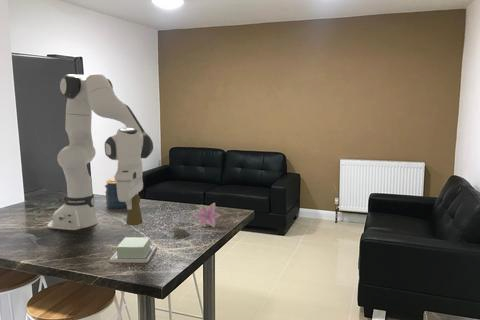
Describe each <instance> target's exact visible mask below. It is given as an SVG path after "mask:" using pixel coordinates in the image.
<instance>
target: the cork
mask: <svg viewBox="0 0 480 320" xmlns="http://www.w3.org/2000/svg"><path fill="white" fill-rule="evenodd" d="M140 202H141V196H140V195H139V194H138V195H135V196H134V197H133V198H132V204H133V208H132V209H131V210H128V209H127V211H126V213H127V214H126V224H127V225H128V226H139V225H142V224H143V222H144V221H143V217H142V211H141V207H140ZM127 225H126V226H127Z"/></svg>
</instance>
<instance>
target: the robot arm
mask: <svg viewBox="0 0 480 320" xmlns="http://www.w3.org/2000/svg"><path fill="white" fill-rule="evenodd" d="M59 84H60V85H59V89H60V93H61V94H62V96H63V97H64V98H66V99H67V100H66V104H65V105H66V106H65V129H64V130H65V132H66V133H67V137H68V141H69V145H66V146H65V147H63V148H62V149H60V151H59V152H58V154H57V157H56V158H57V163H58V165H59V166H60V168H62V171H63V173H64V177H65V181H66V189H67V190H66V191H67V195H66V196H65V197H64V198H63V199H62V202H64V204H63V205H61V206H60V207H59V208H58V209H57V210H55V211H54V212H53V214H52V217H51V221H49V222H48V223H47V228H48V229H55V230H56V229H57V230H65V231H66V230H68V231H77V230H80V229H85V228H89V227H92V226H94V225H95V226H96V225H97V224H98V223H99V220H98V217H97V214H96V210H95V195H94V193H93V192H94V191H93V181H92V180H93V179H92V176H91V175H90V173H89V171H88V166H87V165H88V164H89V163H91V162H92V161H93V160H94V158H95V156H96V149H95V146H94V141H93V136H92V135H93V134H92V118H93V117H92V115H93V113H94V114H95V115H97V116H99V117H101V118H105V119H110V120H115V121H118V122H120V123H122V124H123V125H124V126H125V127H121V128H118V129H117V131H116V133H115V134H114V135H112V136H109V137H108V138H106V140H105V142H104V153H105V156H106V157H107V158H108V159H110V160H111V161H117V170H116V173H115V174H114V176H115V181H117V184H116V186H117V196H118V200H119V201H120V202H126V205H127V207H126V209H127V211H128V210H131V209H132V208H133V204H132V198H133V197H134V196H135V195H139V192H141V191H142V190H143V189H144V182H143V181H144V180H143V175H144V174H143V160H142V159H147V158H148V157H149V156H151V154H152V152H153V151H154V142H153V140H152V138H151V137H150V135H149V134H148V133H147V132H146V131H145V129H144V128H143V126H142V125H141V124H140V122H139V120H138V118H137V116H135V114H134V112H133V110H132V109H131V108H130V107H129V106H128V104H126V103H125V102H123V101H122V100H120V99H119V98H118V96H117V95H116V94H115V91H114V87H113V83H112V81H111V80H110V79H109V78H107V77H106V76H105V75H104V74H103V73H98V72H95V73H90V74H86V75H85V74H73V73H72V74H70V73H69V74H65V75H63V77H61V79H60V83H59Z"/></svg>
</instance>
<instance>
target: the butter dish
mask: <svg viewBox="0 0 480 320" xmlns="http://www.w3.org/2000/svg"><path fill="white" fill-rule="evenodd" d="M157 249H158V246H157V245H156V244H151V238H150V237H140V236H139V237H138V236H137V237H133V236H132V237H127V236H125V237H124V238H123V239H122V240H121V242H119V244H118V245H117V246H116V252H115V253H114V254H113V255H112V256H111V258H110V259H109V261H110V263H130V264H131V263H133V264H134V263H135V264H136V263H138V264H139V263H142V264H143V263H144V264H145V263H147V264H148V263H149V261H150V259H151V258H152V256H153V255H154V253H155V251H156V250H157Z"/></svg>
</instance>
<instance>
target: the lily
mask: <svg viewBox="0 0 480 320" xmlns="http://www.w3.org/2000/svg"><path fill="white" fill-rule="evenodd" d="M215 208H216V202H213V203H211V204H210V205H208V206H207V207H206V206H205V205H203V204H200V211H198V212H195V213H194V214H192V217H194V218H196V219H199V220H200V225H199V226H200V228H201V227H203V226H205V225H206V224H208V225H209V226H210V227H212V228H216V221H215V220H216V218H219V217H220V216H222V215H221V214H220V213H218V212H215V210H216V209H215Z"/></svg>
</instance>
